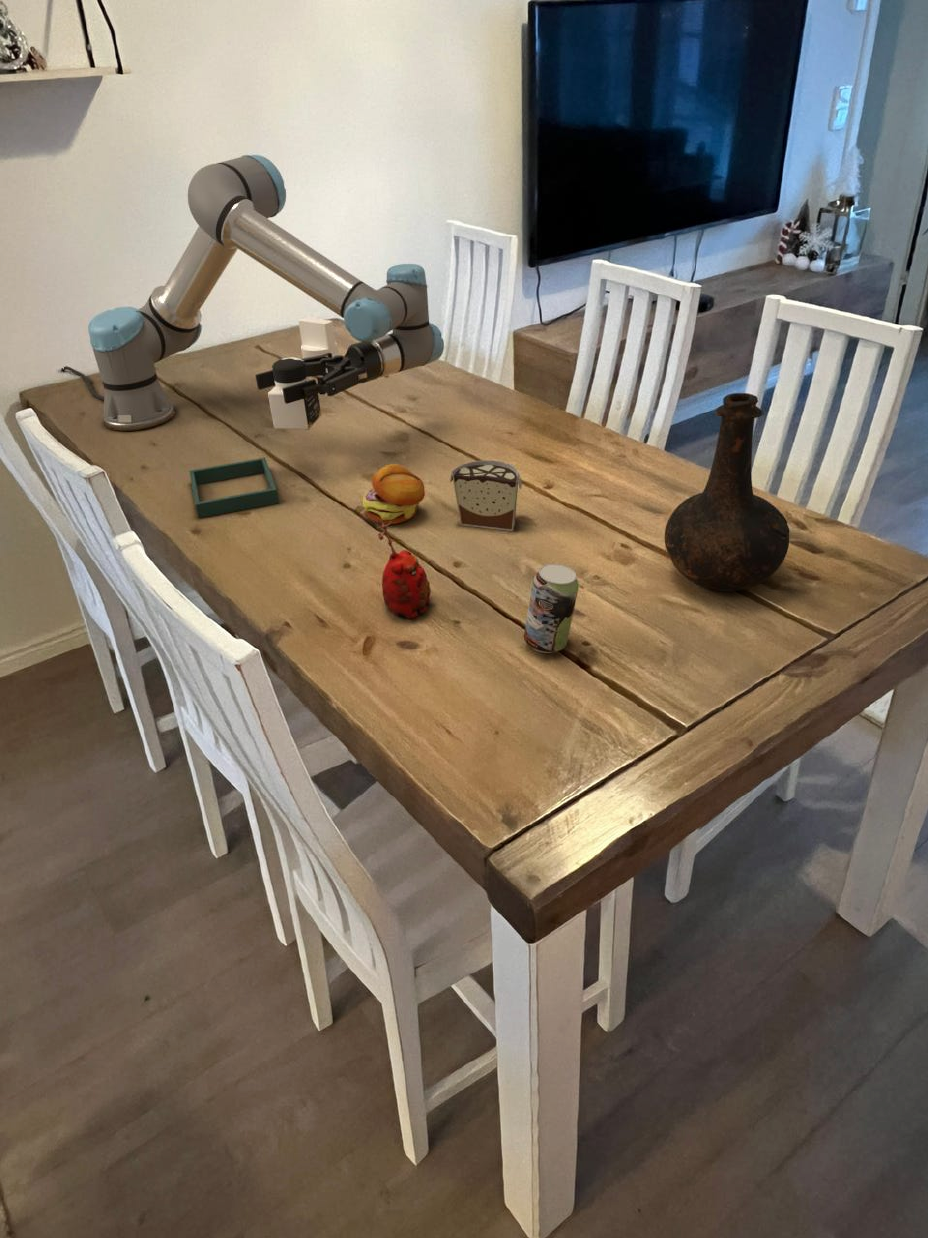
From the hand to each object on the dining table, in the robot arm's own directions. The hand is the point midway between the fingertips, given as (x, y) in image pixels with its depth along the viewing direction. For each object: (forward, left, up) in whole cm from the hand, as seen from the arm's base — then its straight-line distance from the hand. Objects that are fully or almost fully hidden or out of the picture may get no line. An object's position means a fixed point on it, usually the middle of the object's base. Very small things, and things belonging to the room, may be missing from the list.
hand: (270, 388), depth 166 cm
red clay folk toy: (+54, +10, -18) cm, 58 cm away
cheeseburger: (+24, +16, -18) cm, 34 cm away
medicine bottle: (-1, +4, -8) cm, 9 cm away
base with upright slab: (-61, +19, -18) cm, 66 cm away
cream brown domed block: (+33, +31, -18) cm, 48 cm away
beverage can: (+71, +26, -18) cm, 78 cm away
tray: (+3, -10, -18) cm, 21 cm away
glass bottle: (+64, +57, -18) cm, 87 cm away
